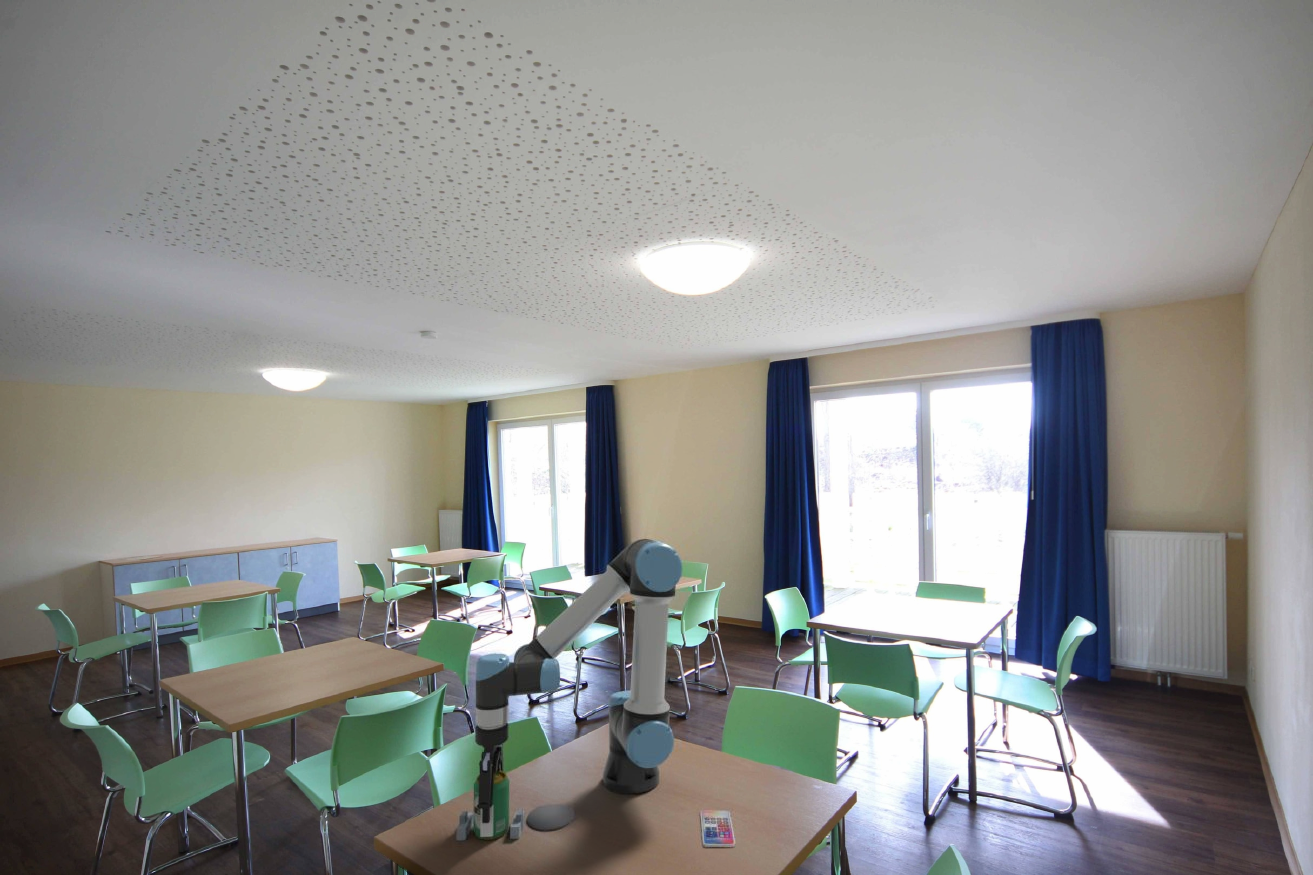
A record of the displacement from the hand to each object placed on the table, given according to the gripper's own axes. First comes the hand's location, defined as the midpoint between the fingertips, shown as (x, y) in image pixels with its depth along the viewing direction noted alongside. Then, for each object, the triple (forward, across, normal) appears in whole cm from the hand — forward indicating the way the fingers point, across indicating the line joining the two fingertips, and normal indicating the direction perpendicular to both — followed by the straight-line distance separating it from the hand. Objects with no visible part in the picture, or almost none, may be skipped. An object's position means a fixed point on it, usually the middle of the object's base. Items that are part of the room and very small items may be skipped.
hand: (491, 825), depth 146 cm
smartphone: (+2, +2, +52) cm, 52 cm away
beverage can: (+1, 0, 0) cm, 1 cm away
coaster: (+1, -5, +13) cm, 14 cm away
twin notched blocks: (+1, 0, 0) cm, 1 cm away
